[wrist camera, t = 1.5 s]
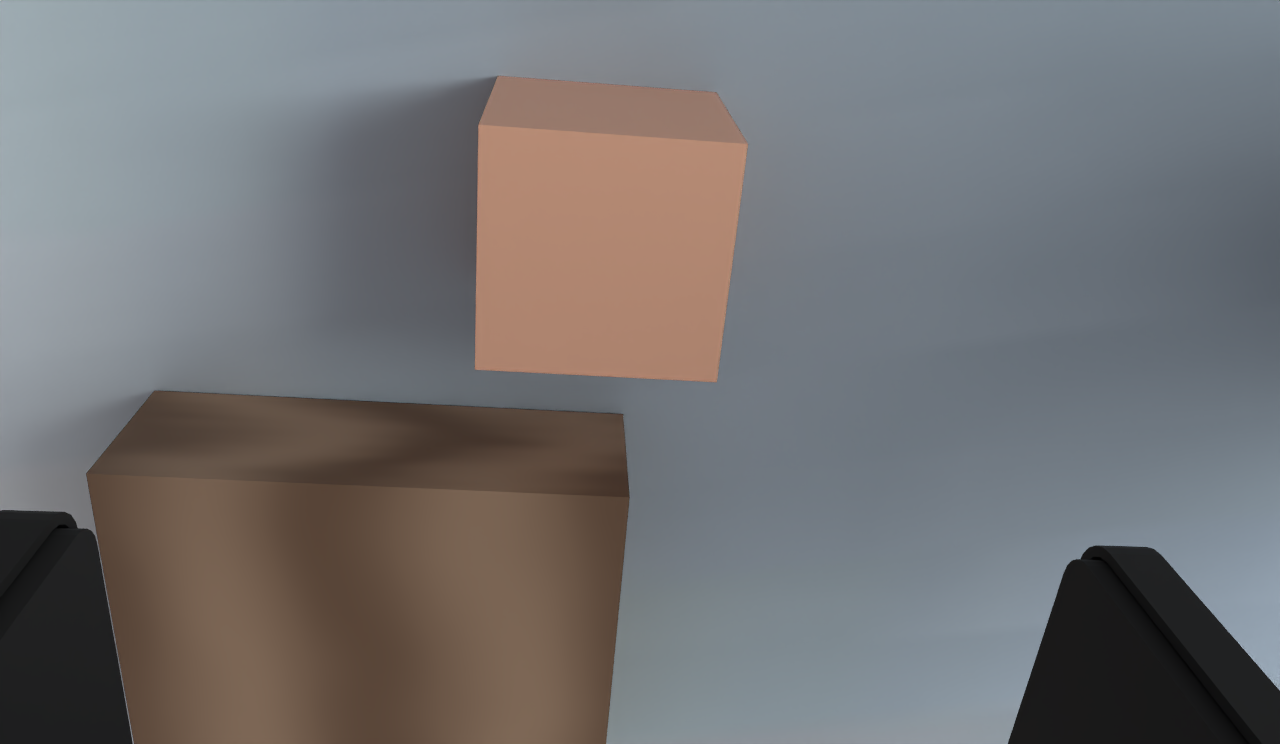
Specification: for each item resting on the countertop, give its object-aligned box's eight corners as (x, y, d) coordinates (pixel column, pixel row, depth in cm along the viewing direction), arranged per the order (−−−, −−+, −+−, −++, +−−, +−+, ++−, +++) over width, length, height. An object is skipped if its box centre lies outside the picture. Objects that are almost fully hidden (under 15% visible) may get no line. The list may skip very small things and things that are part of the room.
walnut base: (623, 414, 27) (629, 497, 23) (593, 747, 32) (595, 857, 29) (154, 390, 26) (85, 473, 22) (202, 738, 31) (153, 850, 28)
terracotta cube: (716, 91, 24) (747, 143, 19) (693, 293, 26) (716, 382, 21) (498, 74, 23) (478, 124, 19) (493, 281, 25) (474, 369, 21)
